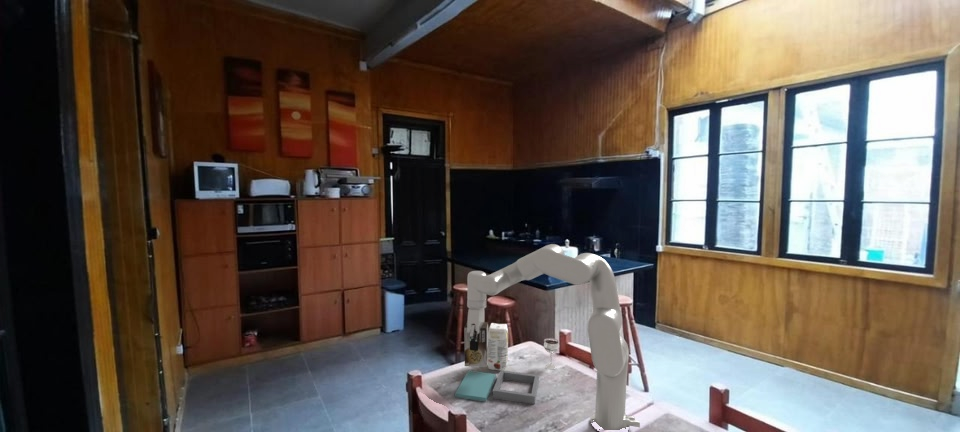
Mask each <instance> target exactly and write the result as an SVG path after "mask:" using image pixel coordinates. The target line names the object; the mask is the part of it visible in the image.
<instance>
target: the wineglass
mask: <svg viewBox="0 0 960 432" xmlns="http://www.w3.org/2000/svg"><path fill="white" fill-rule="evenodd" d="M543 342H544V343H543V348H544V350H545V351H546V353H549V354H550V355H549V356H550V357H549V358H550V364H549V363H548V364H546V365H545V368H546V369H547V370H549V369H554V368H555V366H556V365H555V364H552V363H553V360H552V359H553V355H554V354H555V353H556V352H558V351H559V349H560V341H559V339H557V338H554V337H548V338H544V340H543ZM554 365H555V366H554Z"/></svg>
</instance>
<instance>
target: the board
mask: <svg viewBox="0 0 960 432" xmlns="http://www.w3.org/2000/svg"><path fill="white" fill-rule="evenodd" d="M496 376H497V375H496V373H490V372H482V371H473V370H468V371H466V374H465V376H464V378H463V380H462V381H461V382H460V384H459V386H458V387H457V390H456V392H455V394H454V395H455V398H461V399H466V400H473V401H479V402H487V400H488V397H489V395H490V392H491V390H492V388H493V385H494V383H495V380H496V378H497V377H496Z"/></svg>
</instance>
